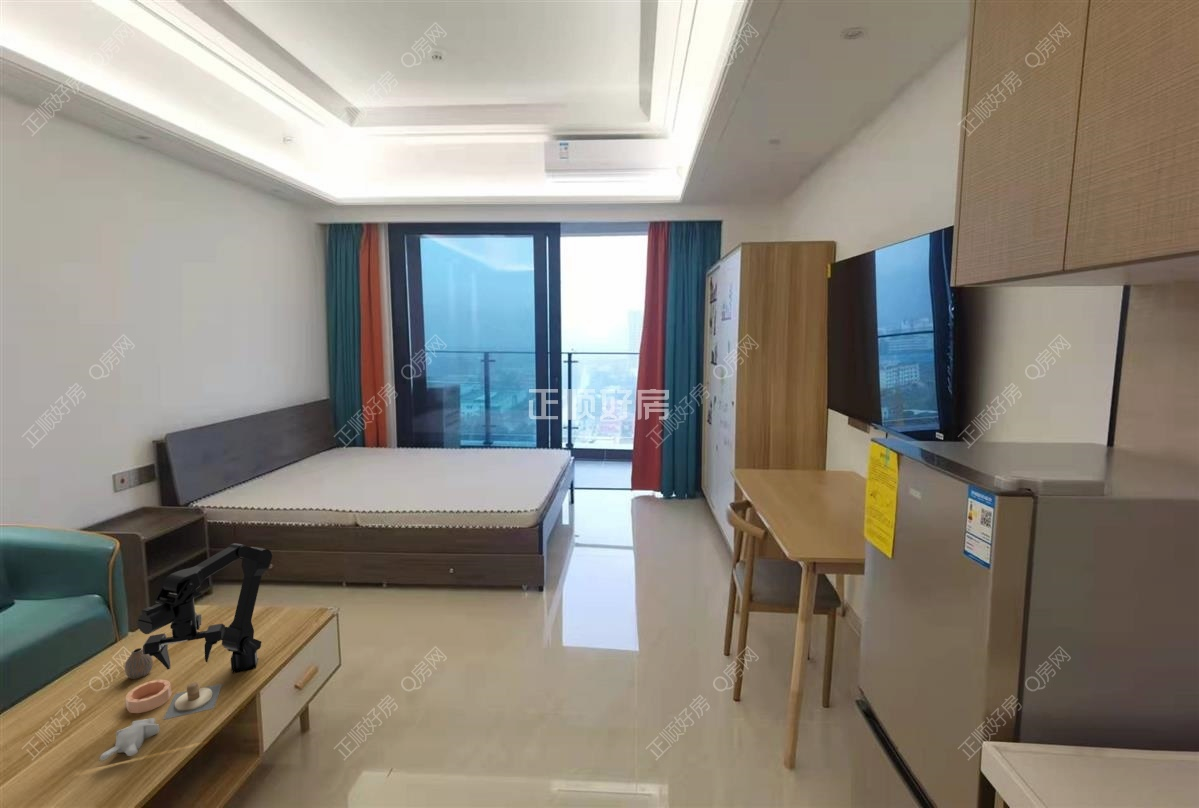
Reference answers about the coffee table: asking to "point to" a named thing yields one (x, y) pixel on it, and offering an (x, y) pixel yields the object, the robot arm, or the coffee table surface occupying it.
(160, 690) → the bowl
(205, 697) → the lid
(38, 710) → the coffee table surface
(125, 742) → the grey toy figurine
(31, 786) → the coffee table surface
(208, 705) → the mat
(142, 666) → the vase
